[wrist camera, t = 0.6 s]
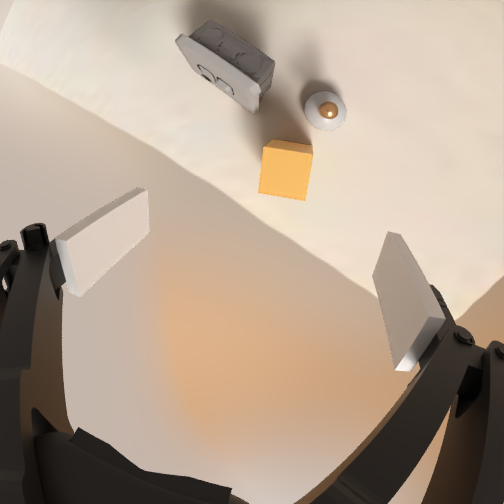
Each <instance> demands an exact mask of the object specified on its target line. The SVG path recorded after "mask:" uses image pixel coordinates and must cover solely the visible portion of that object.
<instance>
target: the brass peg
mask: <svg viewBox="0 0 504 504" xmlns="http://www.w3.org/2000/svg"><path fill="white" fill-rule="evenodd" d="M318 113H319V115H320V116H321V117H323V118H326V119H334V118H335V117H336V116H337V115H338V107H337V105H336V104H335V103H333V102H329V101H328V102H324V103H323V104H321V105H320V106H319V108H318Z"/></svg>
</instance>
